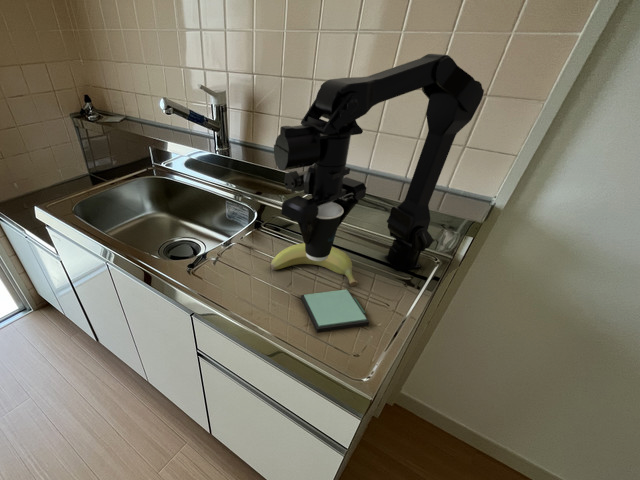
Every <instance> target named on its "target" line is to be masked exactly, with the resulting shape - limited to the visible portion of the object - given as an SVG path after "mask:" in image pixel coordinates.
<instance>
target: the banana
mask: <svg viewBox="0 0 640 480" xmlns="http://www.w3.org/2000/svg"><path fill="white" fill-rule="evenodd" d="M297 265H314V266H315V265H316V266H319V267H323V268H326V269H328V270H330V271H331V272H334V273H336V274H340V275H345V276H346V277H347V279H348V282H349V286H351V287H355V286H357V285H358V281H357V280H356V279H355V278H354V276H353V271H352V270H353V263H352V260H351V258H350V256H348V254H347V253H345V252H344V251H342V250H340V249H338V248H336V247H334V246H332V248H331V252H330V254H329V255H328V258H327V259H326V260H323V261H314V260H311V259H309V258H308V257H307V256H306V251H305V243H304V242H303V243H297V244H294V245H293V244H292V245H290V246H287V247H286V248H284V249H283V250H281V251H280V252H279V253H277V254H276V255H275V256H274V257H273V258H272V260H271V263H270V268H271V269H272V270H274V271H275V270H281V269H284V268H287V267H291V266H297Z"/></svg>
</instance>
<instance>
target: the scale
mask: <svg viewBox="0 0 640 480" xmlns="http://www.w3.org/2000/svg"><path fill="white" fill-rule="evenodd" d="M300 301H301V302H302V305H303V307H304V309H305V311H306V313H307V316H308V317H309V319H310V322H311V324H312V325H313V328H314V330H315V332H316V334H321V333H328V332H334V331H335V332H336V331H342V330H350V329H355V328H356V329H357V328H364V327H369V326H370V320H369V318H368V317H367V316H366V311H365V310H364V309H363V307H362V305H361V304H360V303H359V301H358V300H357V298H356V297H354V296H353V294H352V293H351V291H350V290H349V289H348V288H346V289H339V290H329V291H323V292H322V291H321V292H315V293H314V292H313V293H307V294H301V295H300Z"/></svg>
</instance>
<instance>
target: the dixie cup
mask: <svg viewBox="0 0 640 480" xmlns="http://www.w3.org/2000/svg"><path fill="white" fill-rule="evenodd" d="M343 212H344V210H343V208H342V207H341V206H340V205H339V204H337V203H334V202H330V203H328V204H326V205H323V206H321V207H319V210H318V215H317V218H319V222H318V224H317V227H316V229H315V232H314V234H313V237H312V239H311V241H310V243H309V244H308V245H307V244H305V251H306V256H307V257H308V258H309V259H311V260H314V261H323V260H326V259H327V258H328V255H329V254H330V252H331V248H332V247H333V245H334V242H335V238H336V234H337V231H338V228H339V227H338V225H339V221H340V218H341V215H342V214H343ZM339 226H340V225H339Z"/></svg>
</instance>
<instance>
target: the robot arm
mask: <svg viewBox="0 0 640 480" xmlns="http://www.w3.org/2000/svg"><path fill="white" fill-rule="evenodd" d="M419 89H421V92H422V94H424V96H425V97H426V98H427V99H428V104H427V108H426V112H425V116H426V123H427V130H428V131H427V134H426V137H425V140H424V143H423V146H422V149H421V152H420V154H419V157H418V160H417V163H416V166H415V169H414V172H413V175H412V177H411V180H410V183H409V187H408V189H407V191H406V196H405V198H404V200H403V201H402V202H401V203H399V204H398V205H397V206H392V207H391V208H390V213H389V216H388V218H387V220H386V223H387V230H388V231H389V236H390V237H392V238H394V239H393V241H392V244H391V245H390V247H389V249H388V253H387V255H384V259H385V260H386V261H387V262H388V263H389V264H390V265H391V267H392V268H393V269H394V270H395V271H399V272H400V271H405V270H415V269H420V268H421V264H420V263H419V258H420V256H421V254H422V252H425V250H427V249H429V248H430V247H431V245H432V244H433V243H434V241H435V239H434V238H433V236H432V235H431V234H430V232H429V226H430V222H431V220H432V219H431V212H430V206H429V204H430V202H431V199H432V197H433V194H434V191H435V189H436V187H437V184H438V181H439V179H440V175H441V174H442V172H443V169H444V166H445V164H446V161H447V159H448V156H449V153H450V151H451V148H452V146H453V143H454V141H455V138H456V136H457V135H458V133H460V131H462V130H463V128H464V127H466V126H467V125H468V124H469V123H470V122H471V121H472V119H473V118H474V116H475V113H476V111H477V110H478V108H479V106H480V104H481V102H482V100H483V98H484V92H485V89H484V88H483V84H482V82H480V81H479V80H476V79H475V78H474V77H473V75H470V73H468V72H467V71H466V70H464V69H463V68H461V67H460V66H459V65H458V64H457V62H456V61H455V60H454V59H453V58H452V57H451V55H448V54H439V53H427V54H425V55H423V56H422V57H419V58H417V59H415V60H411V61H408V62H405V63H403V64H399V65H397V66H394V67H391V68H388V69H385V70H381V71H380V72H375V73H374V74H371V75H367V76H357V77H356V76H355V77H354V76H353V77H351V76H350V77H339V78H338V77H337V78H330V79H328V80H326V81H324V82H323V83H322V84H320V88H319V89H318V91H317V94H316V96H315V99H314V101H313V102H312V104H311V105H310V107H309V108H308V110H307V112H306V113H305V115H304V116H303V118H302V119H301V121H300V125H282V126H280V129H279V130H280V131H279V133H280V134H278V135H277V137H276V140H275V144H273V156H274V162H275V165H276V166H277V168H278V169H279V170H280V171H287V170H288V171H289V170H293V171H289V172H286V173H285V174H284V188H285V189H286V190H290V191H291V193H295V192H298V191H303V194H304V195H307V196H309V195H311V198H309V199H308V198H305V197H303V196H301V195H296V196H293V197H291V198H288V199H285V200H284V201H283V202H282V203H281V215H282V216H284V217H286V218H288V219H291V220H293V221H295V222H297V224H298V228H299V231H300V234H301V237H302V241H303V243H305V244H307V245H308V244H309V243H310V241H311V239H312V237H313V234H314V232H315V229H316V227H317V224H318V222H319V218H317V215H318V210H319V207H321V206H323V205H326V204H328V203H330V202H334V203H337V204H339V205H340V206H341V207H342V208H343V210H344V212H343V214H342V215H341V218H340V221H339V225H338V228H339V227H340V225H341V224H342V223H343V221H344V220H345V219H346V218H347V216H348V215H349V214H350V212H351V211H352V210H353V209H354V207H355V206H357V205H358V203H359V200H362V199H364V198H365V197H366V192H367V186H366V185H365V182H363V181H360V180H356V179H353V178H350V177H348V176H347V175H349V174H350V172H351V168H350V167H349V166H348V167H347V162H348V155H349V149H350V145H351V137H352V136H356V135H362V134H363V132H364V130H363V128H362V127H361V126H360V125H359V123H358V122H357V120H358V119H360V118H361V117H363V116H365V115H367V114H368V112H370V110H371V109H372V108H373V107H374V106H376V105H378V104H380V103H383V102H386V101H388V100H391V99H394V98H397V97H400V96H403V95H405V94H408V93H411V92H414V91H417V90H419ZM322 118H324V119H322ZM325 119H326V120H325ZM327 120H328V121H327ZM307 167H308V168H307ZM300 168H307V170H304V171H300V172H298V170H295V171H294V169H300ZM345 176H346V177H345Z"/></svg>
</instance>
